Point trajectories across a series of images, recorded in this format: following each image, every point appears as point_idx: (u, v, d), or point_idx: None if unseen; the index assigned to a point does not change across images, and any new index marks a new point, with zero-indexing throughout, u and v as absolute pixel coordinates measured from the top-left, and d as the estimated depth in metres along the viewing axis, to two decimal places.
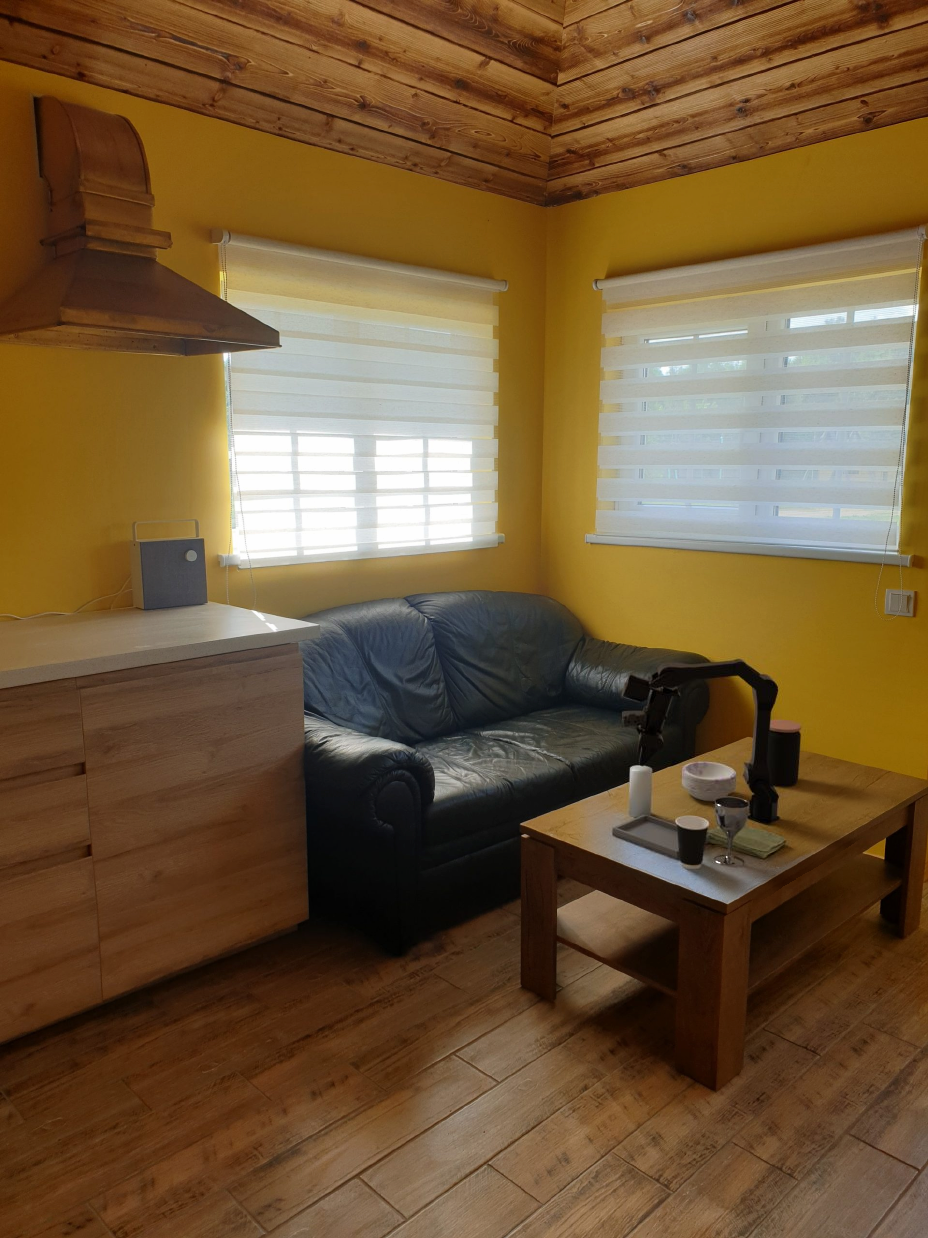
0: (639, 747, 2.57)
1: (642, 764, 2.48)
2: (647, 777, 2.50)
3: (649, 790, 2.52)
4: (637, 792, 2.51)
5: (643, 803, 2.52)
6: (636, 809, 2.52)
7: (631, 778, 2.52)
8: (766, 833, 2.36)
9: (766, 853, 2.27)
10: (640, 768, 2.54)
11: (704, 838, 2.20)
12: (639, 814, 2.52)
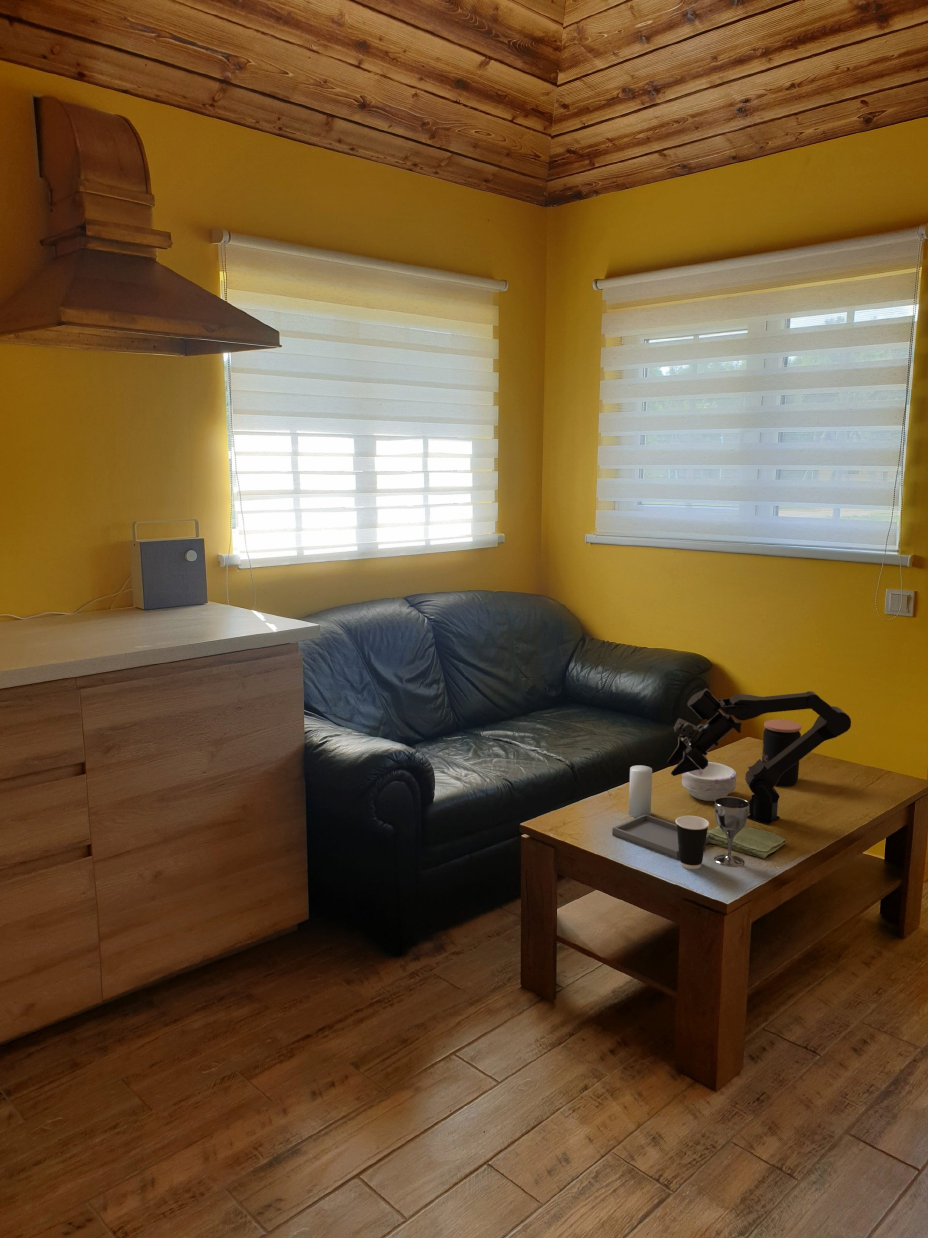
0: (672, 757, 2.56)
1: (674, 774, 2.47)
2: (647, 777, 2.50)
3: (649, 790, 2.52)
4: (637, 792, 2.51)
5: (643, 803, 2.52)
6: (636, 809, 2.52)
7: (631, 778, 2.52)
8: (766, 833, 2.36)
9: (766, 853, 2.27)
10: (640, 768, 2.54)
11: (704, 838, 2.20)
12: (639, 814, 2.52)
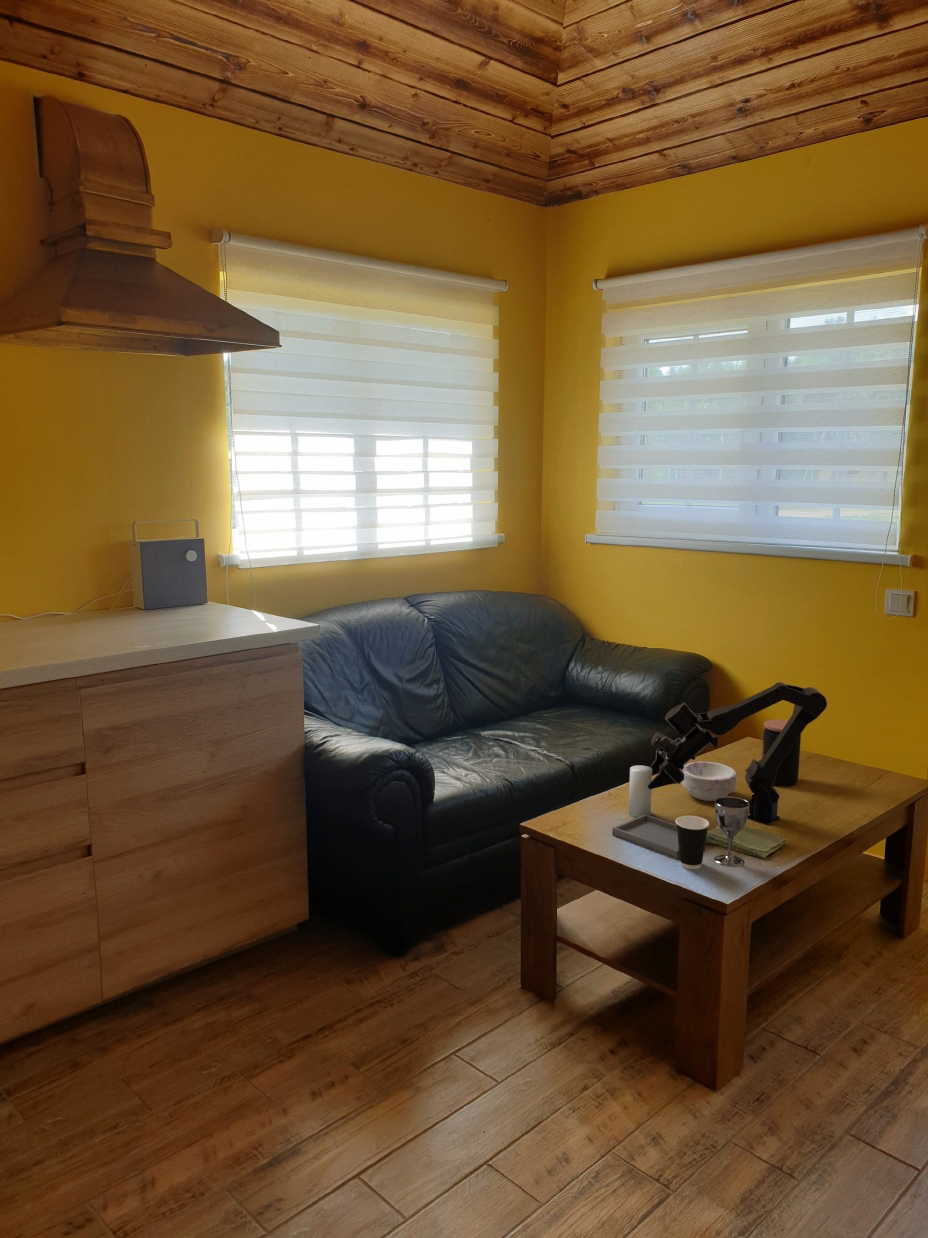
0: None
1: (651, 787, 2.48)
2: (647, 777, 2.50)
3: (649, 790, 2.52)
4: (637, 792, 2.51)
5: (643, 803, 2.52)
6: (636, 809, 2.52)
7: (631, 778, 2.52)
8: (766, 833, 2.36)
9: (766, 853, 2.27)
10: (640, 768, 2.54)
11: (704, 838, 2.20)
12: (639, 814, 2.52)
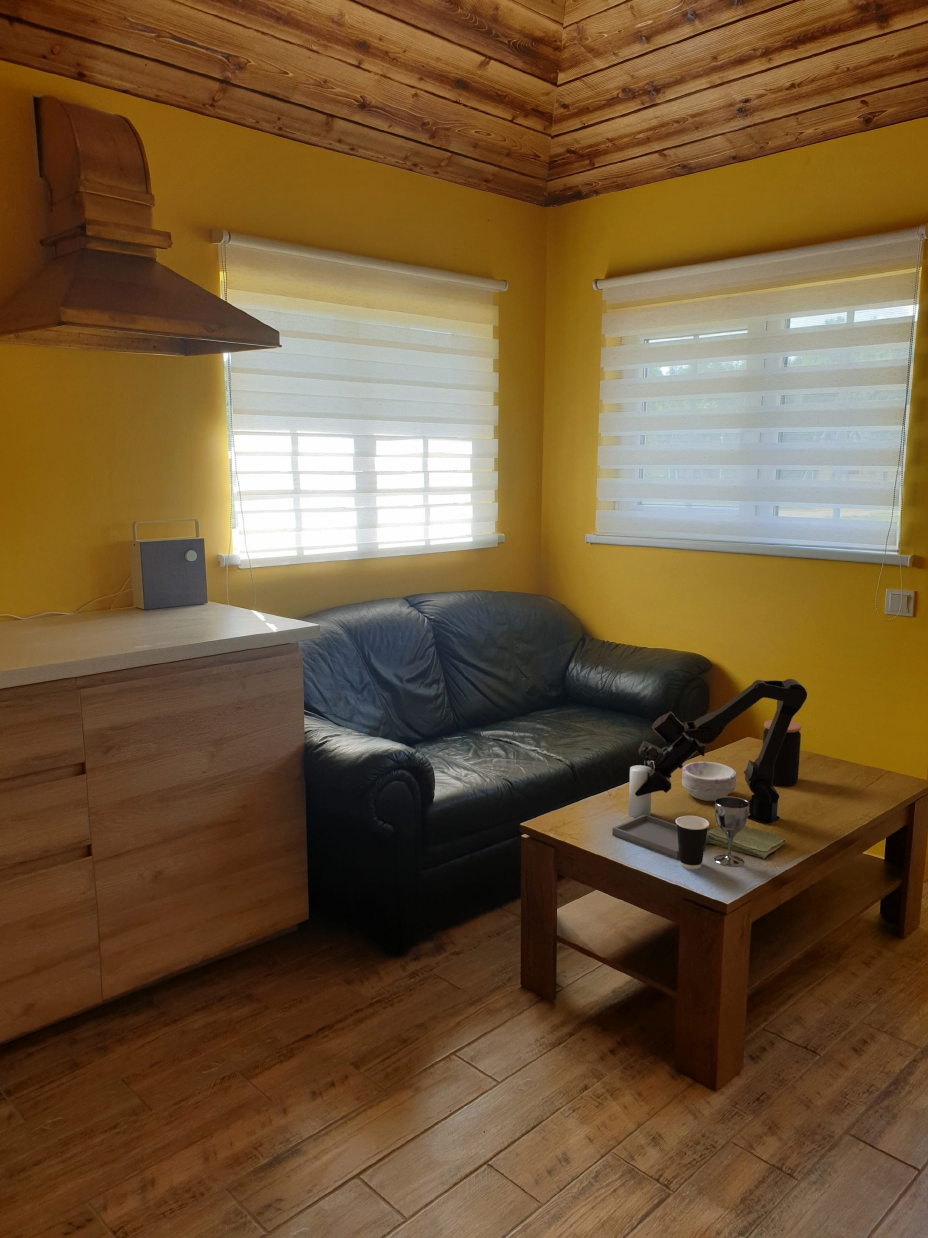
0: None
1: (638, 794, 2.51)
2: None
3: None
4: None
5: (643, 803, 2.52)
6: (636, 809, 2.52)
7: (631, 778, 2.52)
8: (765, 833, 2.36)
9: (766, 853, 2.27)
10: (640, 768, 2.54)
11: (704, 838, 2.20)
12: (639, 814, 2.52)
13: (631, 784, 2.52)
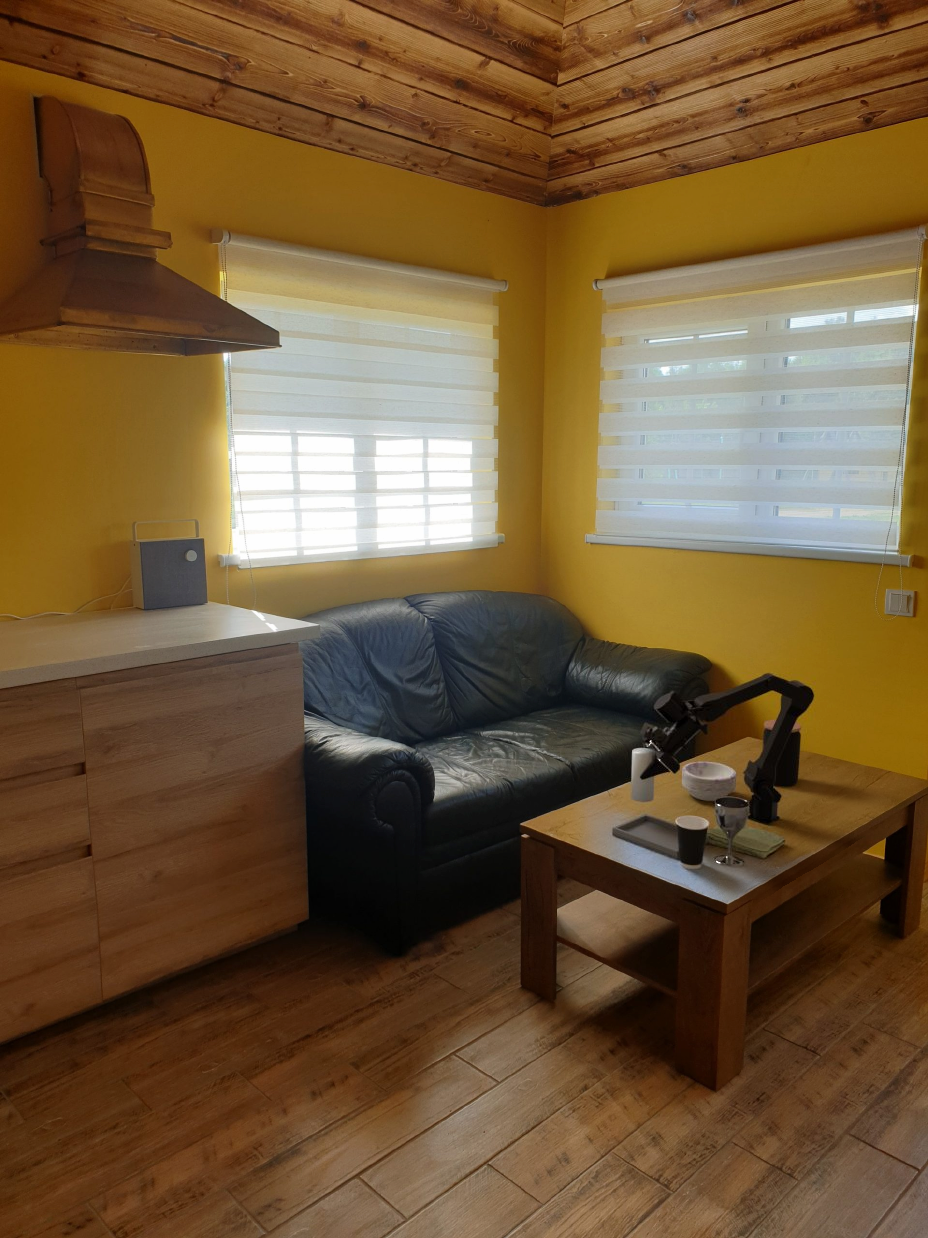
0: None
1: (643, 778, 2.44)
2: (651, 759, 2.44)
3: None
4: None
5: (648, 787, 2.45)
6: (640, 793, 2.45)
7: (634, 761, 2.45)
8: (765, 833, 2.36)
9: (766, 853, 2.27)
10: (642, 750, 2.47)
11: (704, 838, 2.20)
12: (644, 798, 2.45)
13: (635, 768, 2.45)
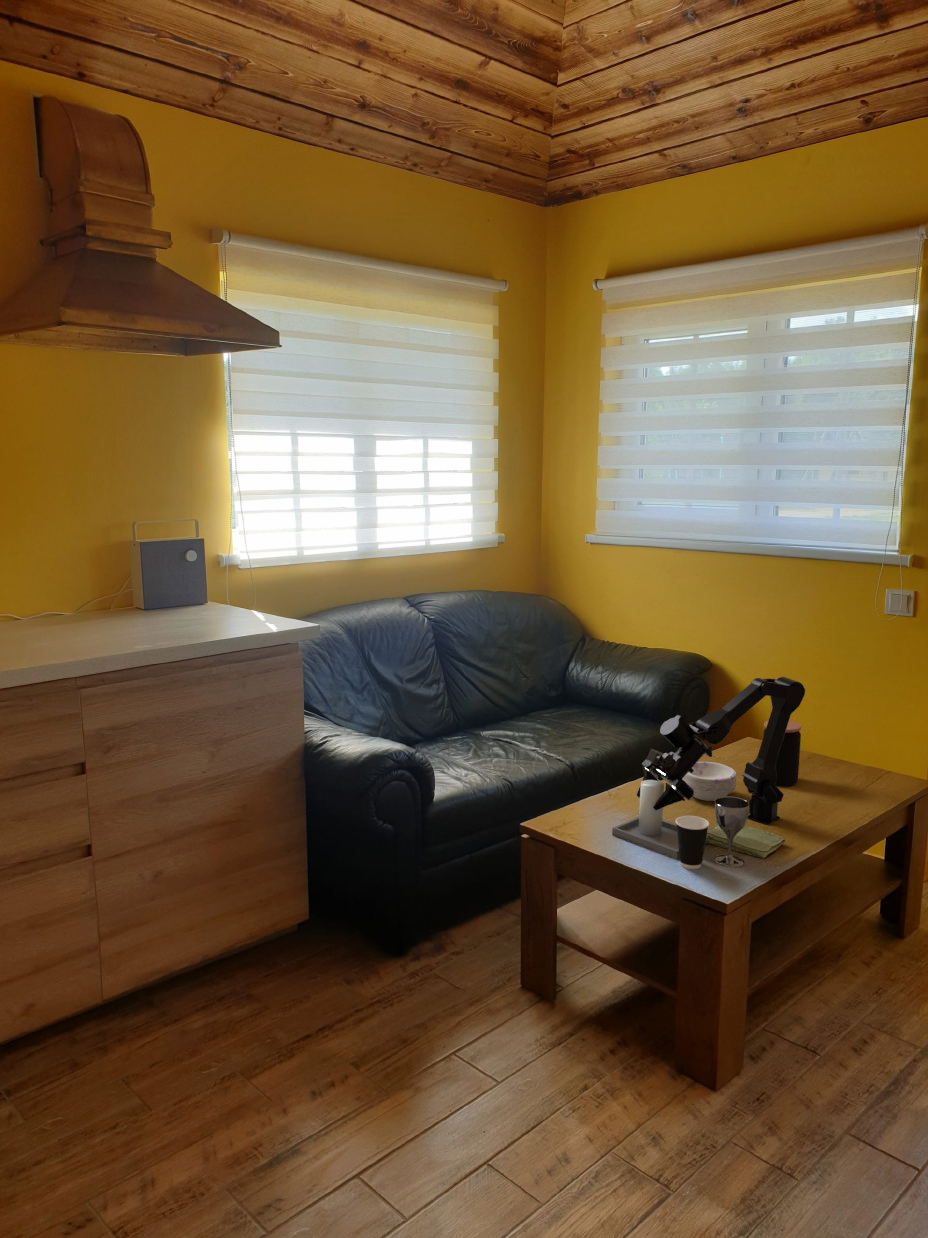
0: None
1: (657, 808, 2.35)
2: (662, 792, 2.38)
3: None
4: (652, 809, 2.38)
5: (658, 820, 2.39)
6: (651, 827, 2.38)
7: (645, 795, 2.38)
8: (765, 832, 2.36)
9: (766, 853, 2.27)
10: (650, 783, 2.40)
11: (704, 838, 2.20)
12: (654, 832, 2.39)
13: (645, 801, 2.38)
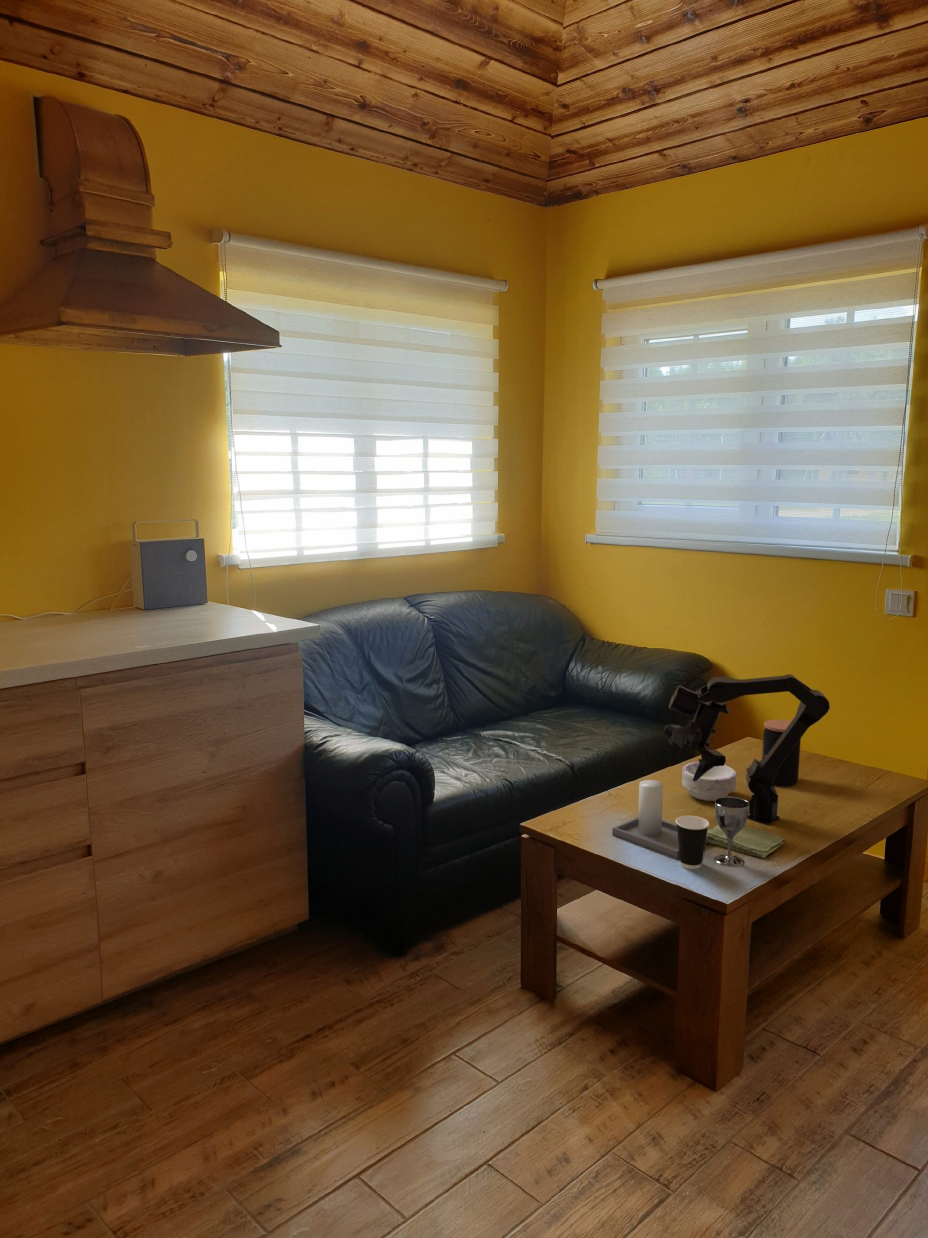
0: (672, 757, 2.56)
1: (696, 779, 2.50)
2: (661, 792, 2.38)
3: (661, 805, 2.39)
4: (652, 809, 2.38)
5: (658, 820, 2.39)
6: (651, 827, 2.38)
7: (644, 795, 2.38)
8: (764, 833, 2.36)
9: (766, 853, 2.27)
10: (649, 783, 2.40)
11: (704, 838, 2.20)
12: (654, 832, 2.39)
13: (644, 802, 2.38)
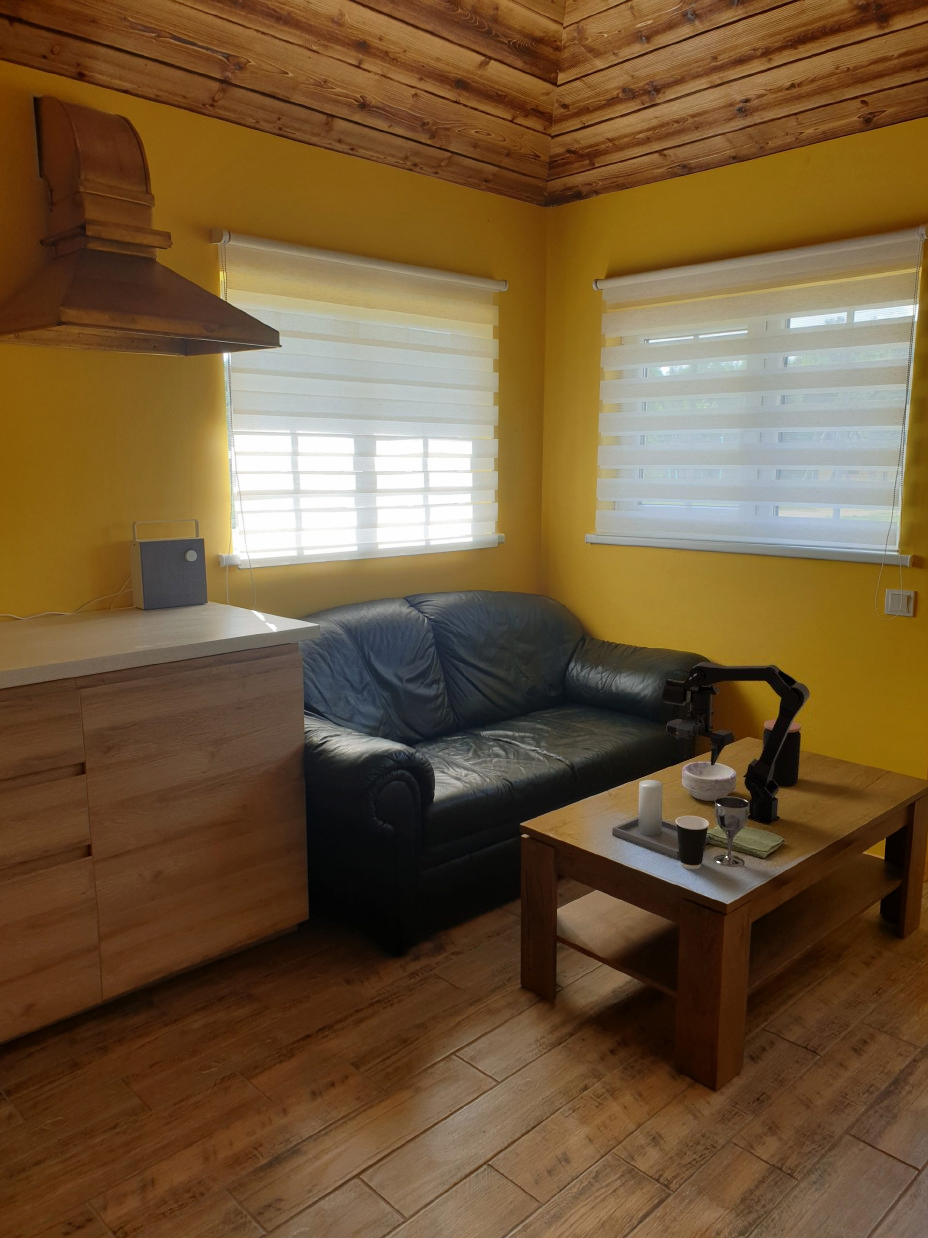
0: (683, 750, 2.62)
1: (714, 763, 2.56)
2: (661, 792, 2.38)
3: (661, 805, 2.39)
4: (652, 809, 2.37)
5: (658, 820, 2.39)
6: (651, 827, 2.38)
7: (644, 796, 2.38)
8: (764, 832, 2.37)
9: (766, 853, 2.27)
10: (649, 783, 2.40)
11: (704, 838, 2.20)
12: (654, 832, 2.39)
13: (644, 802, 2.38)
